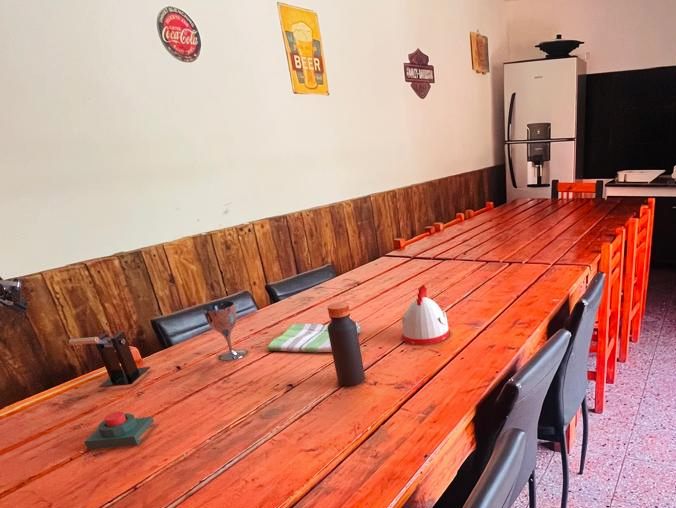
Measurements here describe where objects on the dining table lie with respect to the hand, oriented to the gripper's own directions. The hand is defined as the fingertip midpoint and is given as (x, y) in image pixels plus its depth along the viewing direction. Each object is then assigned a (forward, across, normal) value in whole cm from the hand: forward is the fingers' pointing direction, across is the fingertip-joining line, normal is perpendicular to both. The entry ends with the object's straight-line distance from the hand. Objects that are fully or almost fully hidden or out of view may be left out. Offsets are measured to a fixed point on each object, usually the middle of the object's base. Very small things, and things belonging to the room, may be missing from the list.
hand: (23, 308), depth 104 cm
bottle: (+26, -61, +14) cm, 68 cm away
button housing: (+14, -14, +26) cm, 32 cm away
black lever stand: (+35, 0, +4) cm, 35 cm away
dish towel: (+47, -47, -7) cm, 67 cm away
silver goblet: (+43, -24, -3) cm, 49 cm away
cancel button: (+11, -14, +23) cm, 29 cm away
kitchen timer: (+45, -80, -5) cm, 92 cm away
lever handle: (+23, 0, -1) cm, 23 cm away
